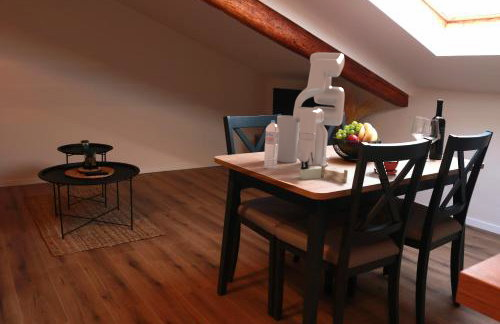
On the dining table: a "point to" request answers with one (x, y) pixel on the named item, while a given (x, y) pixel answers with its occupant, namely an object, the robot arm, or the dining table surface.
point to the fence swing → (310, 173)
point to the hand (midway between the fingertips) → (304, 174)
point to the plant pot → (390, 167)
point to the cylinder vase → (287, 139)
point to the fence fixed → (334, 175)
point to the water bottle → (271, 146)
